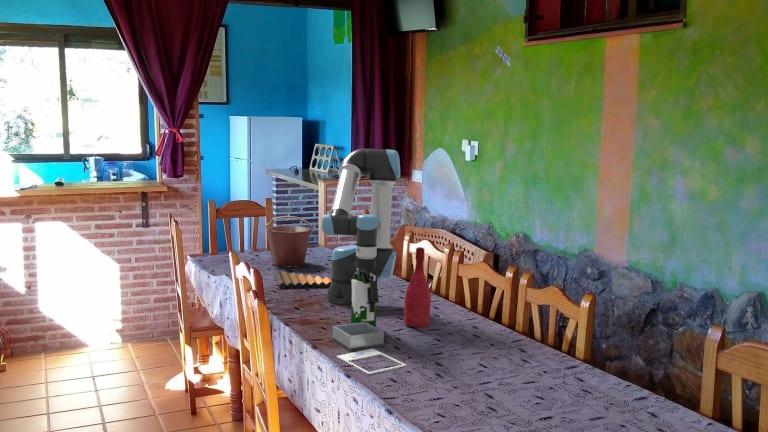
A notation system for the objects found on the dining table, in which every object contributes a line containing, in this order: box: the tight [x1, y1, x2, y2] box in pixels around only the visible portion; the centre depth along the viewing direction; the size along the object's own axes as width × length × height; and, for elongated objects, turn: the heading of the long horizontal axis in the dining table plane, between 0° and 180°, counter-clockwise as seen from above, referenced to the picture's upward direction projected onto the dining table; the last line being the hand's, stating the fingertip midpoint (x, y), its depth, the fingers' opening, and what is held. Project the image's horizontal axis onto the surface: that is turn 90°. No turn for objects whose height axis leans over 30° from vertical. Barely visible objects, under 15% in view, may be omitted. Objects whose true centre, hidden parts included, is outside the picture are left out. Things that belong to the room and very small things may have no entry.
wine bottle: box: [403, 246, 432, 329], centre depth 266 cm, size 10×10×30 cm
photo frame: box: [336, 348, 407, 375], centre depth 226 cm, size 15×1×18 cm
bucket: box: [264, 215, 314, 268], centre depth 365 cm, size 24×22×25 cm
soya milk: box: [350, 274, 380, 328], centre depth 259 cm, size 9×9×20 cm
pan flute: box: [273, 269, 331, 290], centre depth 329 cm, size 25×3×25 cm
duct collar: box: [332, 322, 385, 352], centre depth 243 cm, size 13×13×5 cm
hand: (363, 316), depth 260 cm, fingers closed on soya milk, 9 cm apart
